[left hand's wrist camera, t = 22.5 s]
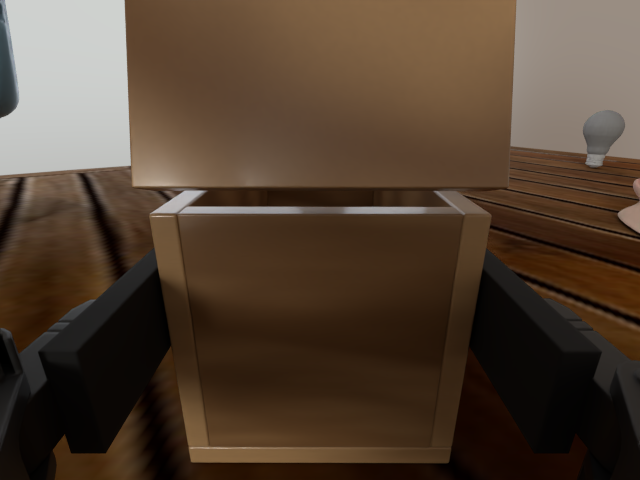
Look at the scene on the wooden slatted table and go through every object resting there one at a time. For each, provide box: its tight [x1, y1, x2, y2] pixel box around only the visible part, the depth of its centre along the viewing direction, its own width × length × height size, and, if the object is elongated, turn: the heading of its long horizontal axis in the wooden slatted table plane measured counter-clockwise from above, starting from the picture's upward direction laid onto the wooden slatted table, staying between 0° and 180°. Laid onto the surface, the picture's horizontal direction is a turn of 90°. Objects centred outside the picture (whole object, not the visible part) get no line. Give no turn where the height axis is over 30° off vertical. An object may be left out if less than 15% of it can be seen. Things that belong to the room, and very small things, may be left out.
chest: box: [149, 191, 491, 463], centre depth 19 cm, size 17×9×9 cm, turn 0°
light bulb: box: [583, 110, 625, 167], centre depth 67 cm, size 6×6×10 cm
